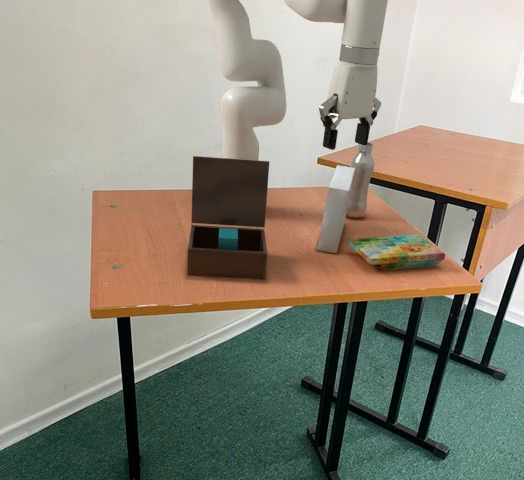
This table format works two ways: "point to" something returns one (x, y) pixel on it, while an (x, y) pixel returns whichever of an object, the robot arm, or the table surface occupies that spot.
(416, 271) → the table surface
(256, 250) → the chest
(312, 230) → the table surface
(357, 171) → the silver metal bottle
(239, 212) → the lid
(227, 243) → the block
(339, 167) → the skincare box
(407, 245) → the puzzle game
